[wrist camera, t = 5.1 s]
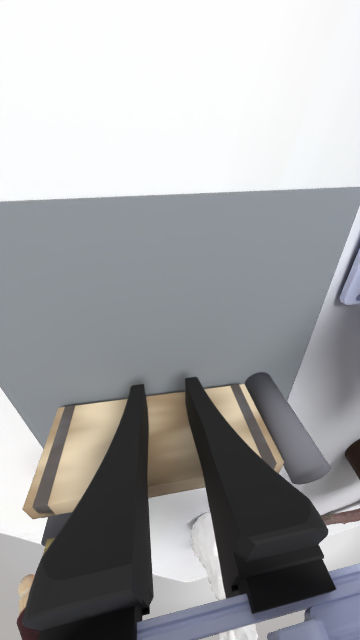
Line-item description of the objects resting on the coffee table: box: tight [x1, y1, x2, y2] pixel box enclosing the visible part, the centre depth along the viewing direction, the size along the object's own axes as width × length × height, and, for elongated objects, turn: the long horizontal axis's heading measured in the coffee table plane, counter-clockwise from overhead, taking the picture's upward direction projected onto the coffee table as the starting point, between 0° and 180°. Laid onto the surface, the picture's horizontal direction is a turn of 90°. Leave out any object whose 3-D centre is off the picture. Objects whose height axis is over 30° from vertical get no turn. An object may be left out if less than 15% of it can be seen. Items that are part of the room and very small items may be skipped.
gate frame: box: [0, 187, 360, 555], centre depth 11 cm, size 19×17×7 cm
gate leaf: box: [23, 384, 284, 519], centre depth 13 cm, size 12×1×5 cm, turn 90°
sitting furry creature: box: [191, 512, 258, 640], centre depth 26 cm, size 10×9×12 cm
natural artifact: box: [321, 509, 360, 525], centre depth 37 cm, size 4×23×4 cm, turn 127°
